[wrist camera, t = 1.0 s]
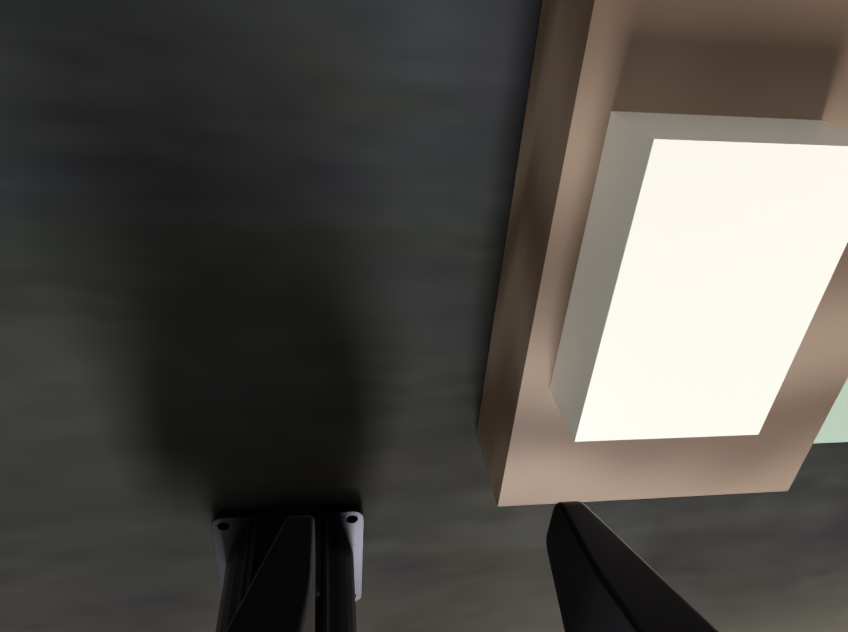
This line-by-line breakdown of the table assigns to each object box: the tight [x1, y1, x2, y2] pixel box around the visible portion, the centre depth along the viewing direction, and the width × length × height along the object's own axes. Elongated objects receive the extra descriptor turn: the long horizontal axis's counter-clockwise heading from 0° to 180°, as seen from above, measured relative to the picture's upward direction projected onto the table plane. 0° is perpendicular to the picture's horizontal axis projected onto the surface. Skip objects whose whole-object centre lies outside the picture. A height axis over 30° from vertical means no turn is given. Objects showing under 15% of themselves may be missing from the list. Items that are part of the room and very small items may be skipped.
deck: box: [476, 0, 848, 506], centre depth 21 cm, size 20×12×4 cm, turn 176°
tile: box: [549, 111, 848, 442], centre depth 18 cm, size 9×6×2 cm, turn 176°
